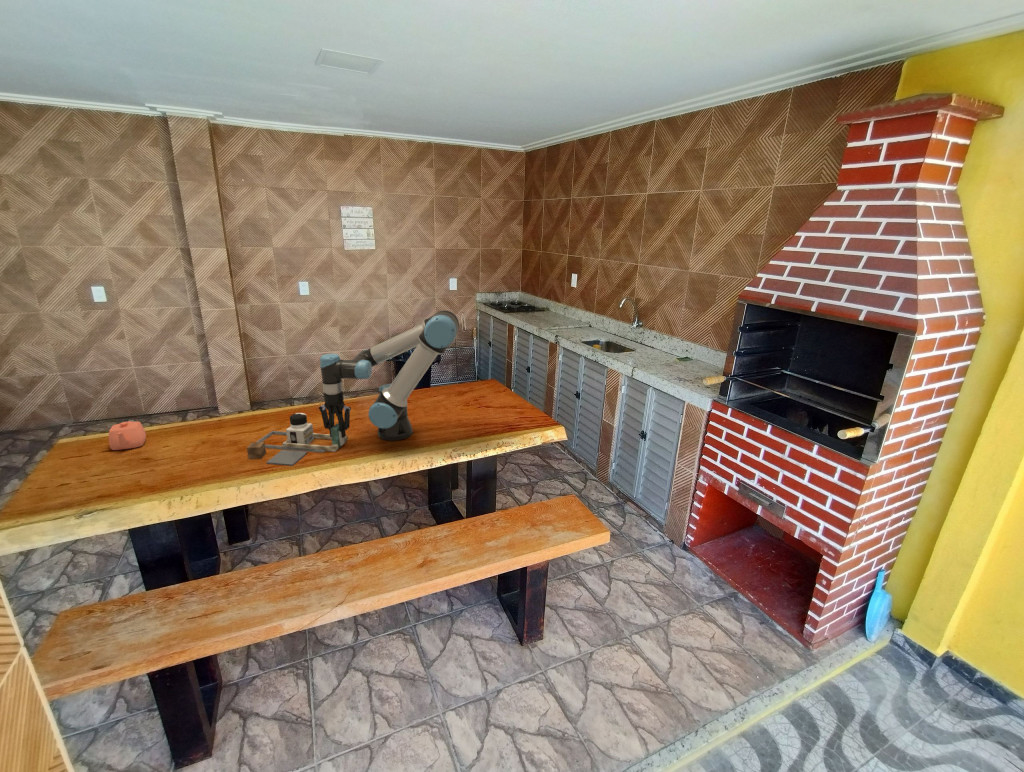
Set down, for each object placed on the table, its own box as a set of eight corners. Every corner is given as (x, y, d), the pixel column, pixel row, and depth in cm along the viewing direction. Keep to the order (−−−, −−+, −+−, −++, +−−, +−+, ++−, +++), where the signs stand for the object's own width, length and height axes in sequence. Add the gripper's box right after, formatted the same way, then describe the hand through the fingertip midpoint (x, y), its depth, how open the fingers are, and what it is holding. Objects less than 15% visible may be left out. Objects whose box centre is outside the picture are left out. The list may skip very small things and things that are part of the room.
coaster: (307, 453, 202) (307, 451, 202) (292, 465, 192) (292, 464, 191) (282, 451, 203) (282, 449, 203) (266, 463, 193) (266, 462, 193)
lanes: (339, 438, 216) (339, 435, 215) (324, 452, 203) (323, 450, 202) (272, 433, 220) (272, 430, 219) (252, 446, 206) (252, 444, 206)
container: (305, 447, 207) (301, 418, 203) (288, 445, 208) (283, 417, 204) (314, 439, 214) (311, 411, 210) (297, 438, 215) (294, 410, 211)
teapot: (150, 435, 215) (144, 413, 212) (141, 452, 200) (135, 429, 196) (118, 440, 210) (111, 417, 207) (106, 458, 195) (99, 434, 192)
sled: (347, 439, 214) (345, 420, 211) (335, 451, 203) (333, 431, 200) (297, 436, 217) (295, 417, 214) (282, 447, 206) (279, 427, 203)
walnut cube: (266, 452, 202) (264, 441, 200) (261, 458, 197) (259, 447, 195) (253, 453, 201) (251, 442, 199) (248, 459, 196) (246, 447, 195)
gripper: (355, 389, 203) (360, 441, 211) (319, 387, 205) (325, 438, 213) (347, 396, 196) (352, 449, 204) (310, 393, 198) (316, 446, 206)
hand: (338, 443), depth 208 cm, fingers closed on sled, 2 cm apart
